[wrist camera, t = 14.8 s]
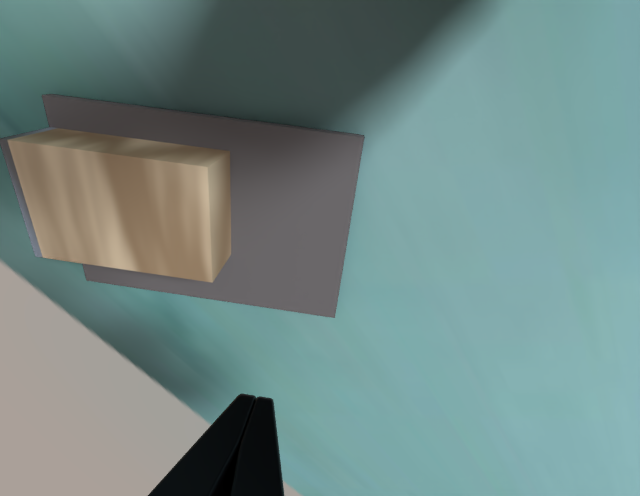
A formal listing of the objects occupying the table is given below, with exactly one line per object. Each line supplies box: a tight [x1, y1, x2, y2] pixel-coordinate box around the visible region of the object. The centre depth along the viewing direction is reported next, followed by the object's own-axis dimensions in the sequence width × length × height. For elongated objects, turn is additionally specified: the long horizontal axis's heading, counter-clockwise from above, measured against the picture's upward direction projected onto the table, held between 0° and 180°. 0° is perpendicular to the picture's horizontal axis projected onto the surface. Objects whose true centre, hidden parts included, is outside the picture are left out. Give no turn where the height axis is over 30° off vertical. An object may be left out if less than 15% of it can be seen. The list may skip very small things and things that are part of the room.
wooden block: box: [0, 127, 231, 283], centre depth 18 cm, size 3×6×9 cm
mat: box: [42, 94, 364, 318], centre depth 20 cm, size 16×11×1 cm
